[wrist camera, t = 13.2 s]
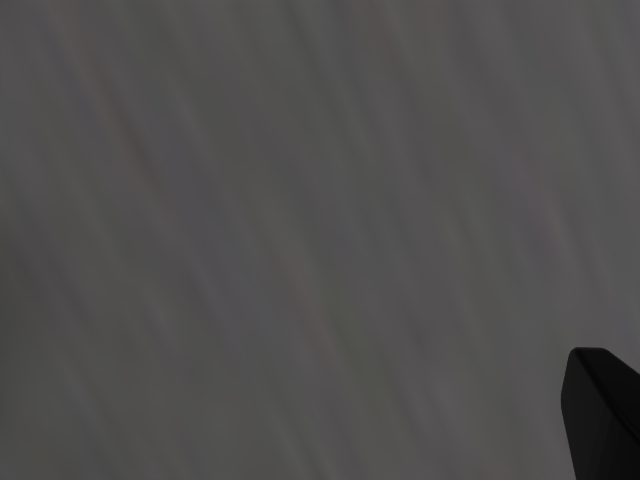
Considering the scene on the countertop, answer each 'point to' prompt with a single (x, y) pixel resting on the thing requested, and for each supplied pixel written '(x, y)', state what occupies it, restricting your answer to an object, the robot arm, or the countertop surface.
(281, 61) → the countertop surface
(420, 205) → the countertop surface
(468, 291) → the countertop surface
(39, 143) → the countertop surface
